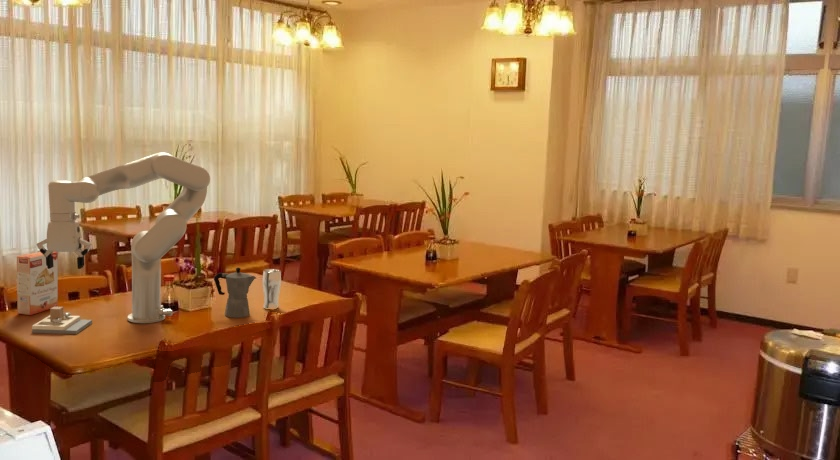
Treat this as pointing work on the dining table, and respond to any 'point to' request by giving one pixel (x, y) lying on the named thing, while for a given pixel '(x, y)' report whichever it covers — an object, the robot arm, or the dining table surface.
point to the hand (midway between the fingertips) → (65, 268)
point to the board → (70, 330)
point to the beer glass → (271, 287)
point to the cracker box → (36, 283)
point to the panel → (50, 325)
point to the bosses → (61, 319)
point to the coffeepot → (236, 292)
